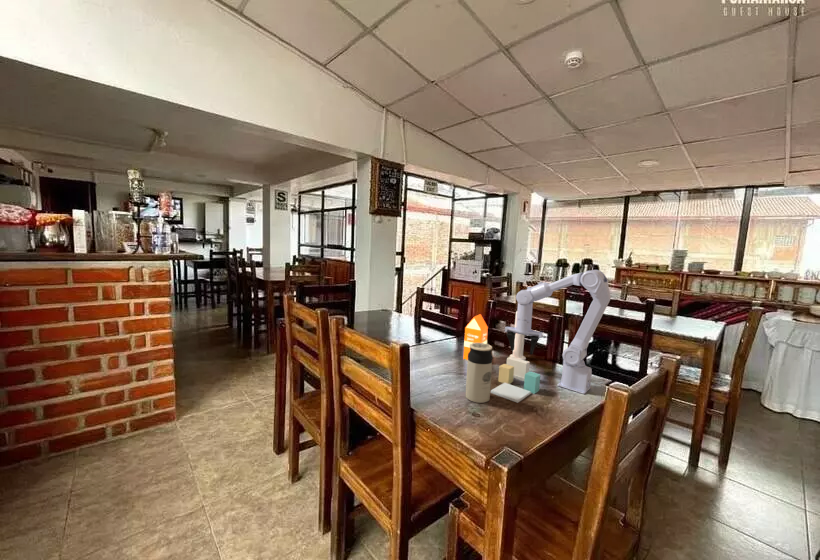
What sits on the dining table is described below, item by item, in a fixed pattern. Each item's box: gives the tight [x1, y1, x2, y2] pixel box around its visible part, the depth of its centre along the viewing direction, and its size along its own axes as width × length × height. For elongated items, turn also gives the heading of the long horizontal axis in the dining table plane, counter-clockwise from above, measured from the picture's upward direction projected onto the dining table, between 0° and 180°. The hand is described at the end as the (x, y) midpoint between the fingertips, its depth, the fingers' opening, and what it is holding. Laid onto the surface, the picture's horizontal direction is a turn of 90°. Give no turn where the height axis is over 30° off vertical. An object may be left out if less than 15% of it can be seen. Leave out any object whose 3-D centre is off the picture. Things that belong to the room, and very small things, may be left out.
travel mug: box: [465, 343, 493, 404], centre depth 108 cm, size 8×8×18 cm
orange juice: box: [462, 313, 489, 361], centre depth 147 cm, size 8×9×20 cm
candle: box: [509, 310, 527, 361], centre depth 150 cm, size 7×7×25 cm
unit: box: [506, 356, 531, 382], centre depth 129 cm, size 10×5×7 cm, turn 46°
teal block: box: [523, 370, 541, 395], centre depth 117 cm, size 4×4×6 cm
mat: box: [490, 382, 532, 404], centre depth 114 cm, size 10×10×1 cm
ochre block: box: [497, 363, 514, 385], centre depth 124 cm, size 4×4×6 cm
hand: (521, 351), depth 133 cm, fingers open, 7 cm apart
